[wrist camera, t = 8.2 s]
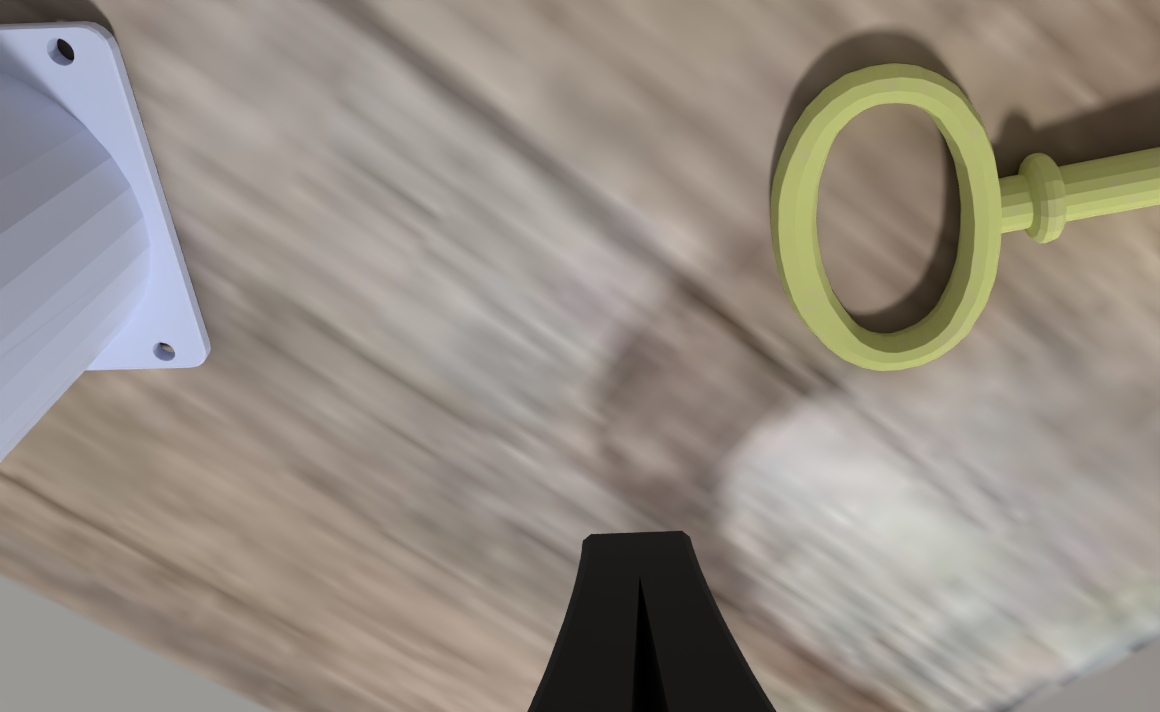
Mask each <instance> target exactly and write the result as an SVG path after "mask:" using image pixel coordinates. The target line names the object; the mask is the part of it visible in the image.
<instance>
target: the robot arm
mask: <svg viewBox="0 0 1160 712" xmlns="http://www.w3.org/2000/svg"><path fill="white" fill-rule="evenodd" d="M58 39H63V40H64V41H66V42H67V43H68V44H70V46H71V47H72V49H73V51H74V58H75V59H74V60H73V61H72V60H68V59H67V58H65V57H64V56H63V55H62V54H61V53H60V51H59V49H58V45H57V40H58ZM160 342H162V343H167V344H168V345H170V346H171V347H172V348H173V350H174V351H175V352H174V353H173V352H168V351H166V350H165V349H163V348H162V346H161V345H160ZM210 350H211V349H210V341H209V338H208V335H207V332H206V328H205V325H204V322H203V319H202V315H201V312H200V309H199V306H198V303H197V299H196V296H195V293H194V290H193V286H192V283H191V280H190V277H189V273H188V270H187V267H186V264H185V260H184V257H183V254H182V251H181V247H180V244H179V241H178V238H177V234H176V231H175V228H174V225H173V221H172V218H171V215H170V212H169V209H168V205H167V202H166V199H165V196H164V192H163V189H162V186H161V183H160V179H159V176H158V173H157V170H156V166H155V163H154V160H153V157H152V153H151V150H150V147H149V144H148V140H147V137H146V134H145V131H144V127H143V124H142V121H141V118H140V115H139V111H138V108H137V105H136V102H135V98H134V95H133V92H132V89H131V85H130V82H129V79H128V76H127V72H126V69H125V66H124V63H123V59H122V56H121V53H120V50H119V46H118V44H117V42H116V40H115V38H114V37H113V35H112V34H111V33H110V32H109V31H108V30H107V29H106V28H104V27H102V26H101V25H99V24H97V23H94V22H88V21H75V22H47V23H19V24H0V462H1V461H2V460H3V459H4V458H5V456H6V455H7V454H8V453H9V452H10V451H11V450H12V449H13V448H14V447H15V446H16V445H17V443H18V442H19V441H20V440H21V439H22V438H23V437H24V436H25V435H26V434H27V433H28V431H29V430H30V429H31V428H32V427H33V426H34V425H35V424H36V423H37V422H38V421H39V419H40V418H41V417H42V416H43V415H44V414H45V413H46V412H47V411H48V410H49V409H50V408H51V406H52V405H53V404H54V403H55V402H56V401H57V400H58V399H59V398H60V397H61V396H62V394H63V393H64V392H65V391H66V390H67V389H68V388H69V387H70V386H71V385H72V384H73V382H74V381H75V380H76V379H77V378H78V377H79V376H80V375H81V374H82V373H83V372H84V371H85V370H119V369H156V368H191V367H196V366H199V365H200V364H202V363H203V362H204V361H205V359H206V358H207V356H208V355H209V352H210ZM528 712H776V710H775V709H774V707H773V705H772V704H771V702H770V701H769V699H768V698H767V696H766V694H765V693H764V691H763V689H762V688H761V686H760V684H759V683H758V681H757V679H756V677H755V676H754V674H753V672H752V671H751V669H750V667H749V665H748V663H747V662H746V660H745V658H744V656H743V654H742V652H741V651H740V649H739V647H738V645H737V643H736V642H735V640H734V638H733V636H732V634H731V633H730V631H729V629H728V627H727V625H726V623H725V621H724V619H723V617H722V615H721V613H720V611H719V609H718V607H717V604H716V602H715V600H714V598H713V596H712V594H711V592H710V590H709V587H708V585H707V583H706V580H705V578H704V576H703V573H702V571H701V568H700V566H699V563H698V560H697V558H696V555H695V552H694V549H693V546H692V542H691V539H690V537H689V536H688V535H687V534H685V533H684V532H683V531H666V532H638V533H611V534H591V535H589V536H588V537H587V538H586V539H585V540H583V544H582V553H581V559H580V564H579V569H578V573H577V577H576V581H575V585H574V589H573V593H572V596H571V599H570V602H569V606H568V609H567V612H566V615H565V619H564V622H563V624H562V627H561V630H560V632H559V635H558V638H557V641H556V643H555V646H554V649H553V652H552V654H551V657H550V660H549V663H548V665H547V668H546V670H545V673H544V675H543V678H542V680H541V682H540V684H539V687H538V689H537V691H536V694H535V696H534V698H533V700H532V703H531V705H530V707H529V709H528Z"/></svg>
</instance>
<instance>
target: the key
mask: <svg viewBox="0 0 1160 712" xmlns="http://www.w3.org/2000/svg"><path fill="white" fill-rule="evenodd" d="M887 103H907V104H913V105H916V106H919V107H920V108H921V109H923V110H924V111H926V112H927V113H928V114H929V115H930V116H931V118H932V119H933V121H934V122H935V124H936V125H937V127H938V128H939V130H940V131H941V133H942V134H943V136H944V137H945V140H946V142H947V144H948V147H949V149H950V152H951V154H952V156H953V159H954V162H955V167H956V172H957V177H958V182H959V191H960V202H961V216H960V234H959V242H958V250H957V258H956V261H955V264H954V267H953V270H952V274H951V277H950V280H949V282H948V284H947V286H946V288H945V290H944V292H943V294H942V296H941V298H940V300H939V302H938V304H937V305H936V306H935V308H934V309H933V310H932V311H931V312H930V313H929V314H928V315H927V316H926V317H925V318H923V319H922V320H920V321H919V322H918V323H916V324H914V325H912V326H910V327H908V328H906V329H903V330H900V331H897V332H893V333H876V332H871V331H868V330H866V329H864V328H862V327H860V326H858V325H857V324H856V323H855V322H854V321H853V320H852V319H851V317H850V316H849V315H848V313H847V312H846V311H845V309H844V308H843V307H842V305H841V304H840V302H839V301H838V299H837V298H836V296H835V294H834V293H833V291H832V289H831V286H830V284H829V281H828V279H827V276H826V273H825V270H824V267H823V264H822V262H821V257H820V251H819V245H818V238H817V226H816V211H817V198H818V188H819V181H820V178H821V174H822V171H823V167H824V164H825V161H826V158H827V155H828V152H829V149H830V147H831V144H832V142H833V140H834V138H835V136H836V135H837V133H838V132H839V131H840V130H841V129H842V128H843V126H844V125H845V124H846V123H847V122H848V121H849V120H850V119H851V118H853V117H854V116H856V115H857V114H859V113H860V112H861V111H863V110H865V109H867V108H870V107H872V106H875V105H877V104H887ZM1159 204H1160V147H1157V148H1152V149H1147V150H1142V151H1137V152H1131V153H1126V154H1121V155H1116V156H1111V157H1106V158H1101V159H1096V160H1091V161H1085V162H1080V163H1075V164H1070V165H1065V166H1060V167H1057V165H1056V164H1055V162H1054V160H1052V159H1051V158H1050V157H1049V156H1048V155H1045V154H1043V153H1034V154H1031V155H1029V156H1027V157H1026V158H1025V159H1024V160H1023V162H1022V163H1021V165H1020V167H1019V171H1018V175H1014V176H1009V177H1003V178H998V174H997V169H996V163H995V157H994V153H993V149H992V145H991V142H990V140H989V137H988V134H987V132H986V129H985V127H984V124H983V122H982V119H981V117H980V115H979V114H978V113H977V111H976V110H975V109H974V107H973V106H972V105H971V103H970V102H969V101H968V99H967V98H966V97H965V95H964V94H963V93H962V91H961V90H960V89H959V87H958V86H957V85H955V84H954V83H952V82H951V81H949V80H947V79H946V78H944V77H943V76H941V75H940V74H938V73H935V72H932V71H930V70H927V69H925V68H922V67H920V66H916V65H909V64H899V63H889V64H882V65H875V66H869V67H866V68H863V69H860V70H857V71H854V72H851V73H848V74H845V75H844V76H842V77H841V78H839V79H838V80H836V81H835V82H833V83H832V84H831V85H829V86H828V87H826V88H825V89H824V90H823V91H822V92H821V93H820V94H819V95H818V96H817V97H816V98H815V99H814V100H813V101H812V102H811V103H810V104H809V105H808V106H807V107H806V108H805V110H804V111H803V113H802V114H801V116H800V118H799V119H798V121H797V122H796V124H795V125H794V127H793V129H792V131H791V133H790V135H789V137H788V140H787V142H786V144H785V147H784V149H783V151H782V153H781V156H780V159H779V163H778V166H777V169H776V173H775V176H774V179H773V186H772V194H771V231H772V242H773V251H774V255H775V259H776V264H777V268H778V272H779V276H780V279H781V282H782V285H783V288H784V291H785V294H786V296H787V298H788V300H789V302H790V304H791V306H792V307H793V309H794V311H795V312H796V313H797V315H798V316H799V317H800V319H801V320H802V321H803V323H804V324H805V325H806V326H807V327H808V328H809V329H810V330H811V331H812V332H813V333H814V334H815V335H816V336H817V337H818V338H819V339H820V340H821V341H822V342H823V343H824V344H825V345H826V346H827V347H828V348H829V349H831V350H832V351H833V352H834V353H836V354H837V355H838V356H840V357H841V358H842V359H844V360H846V361H849V362H851V363H853V364H855V365H858V366H860V367H864V368H868V369H873V370H878V371H886V370H901V369H906V368H910V367H915V366H920V365H922V364H925V363H927V362H929V361H932V360H934V359H936V358H938V357H940V356H941V355H943V354H944V353H946V352H947V351H949V350H950V349H952V348H953V347H954V346H955V345H956V344H957V343H958V342H959V341H961V340H962V339H963V338H964V337H965V336H966V335H967V334H968V333H969V331H970V329H971V328H972V326H973V325H974V323H975V321H976V320H977V318H978V316H979V315H980V313H981V312H982V310H983V308H984V307H985V305H986V303H987V300H988V297H989V295H990V292H991V289H992V286H993V283H994V281H995V278H996V272H997V265H998V259H999V253H1000V246H1001V233H1005V232H1010V231H1016V230H1021V229H1025V231H1026V233H1027V234H1028V235H1029V236H1030V237H1031V238H1032V239H1034V240H1035V241H1036V242H1038V243H1047V242H1049V241H1052V240H1054V239H1057V238H1058V237H1059V235H1060V233H1061V232H1062V229H1063V227H1064V225H1065V221H1071V220H1076V219H1082V218H1087V217H1093V216H1098V215H1104V214H1109V213H1115V212H1120V211H1126V210H1131V209H1137V208H1142V207H1148V206H1153V205H1159Z"/></svg>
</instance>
